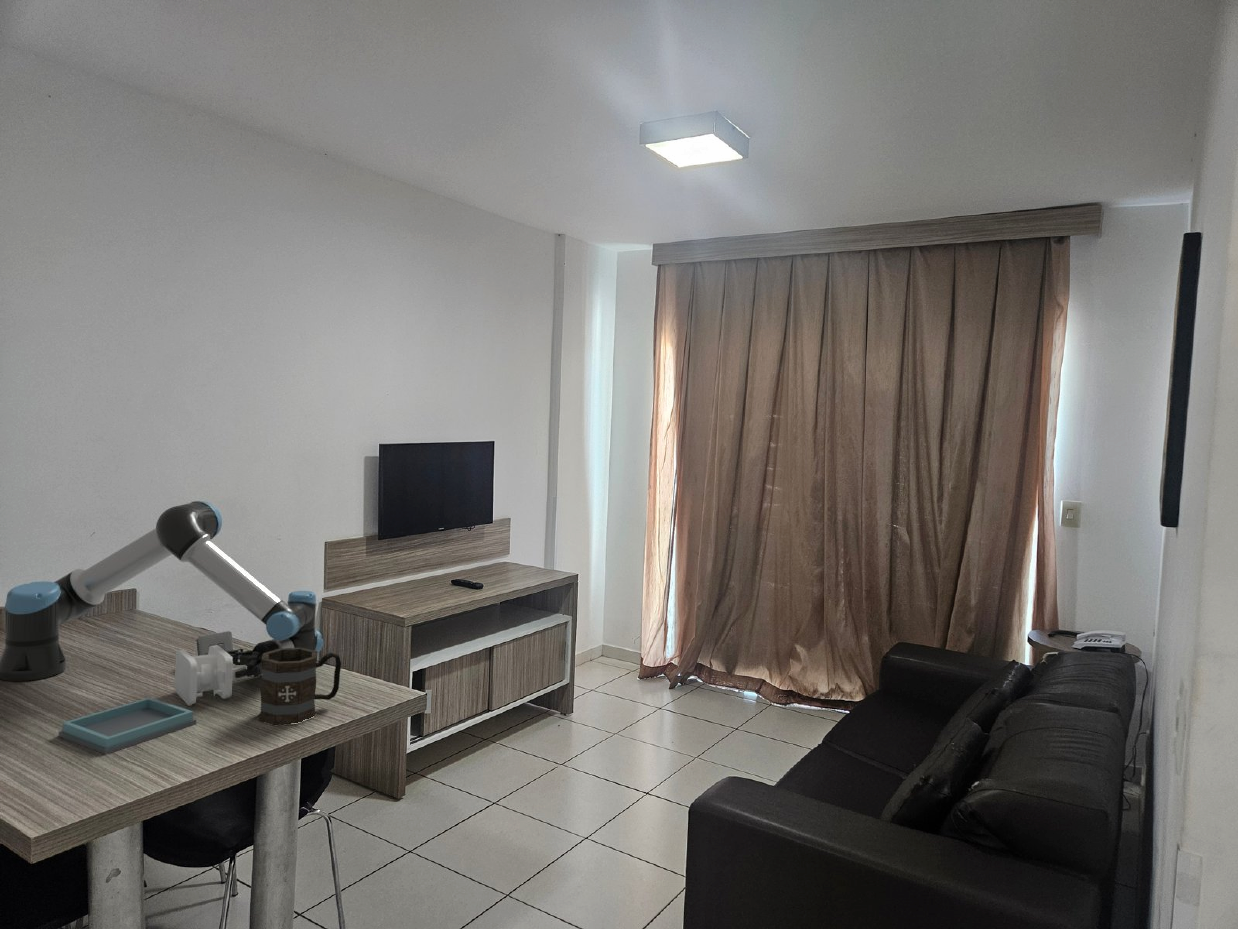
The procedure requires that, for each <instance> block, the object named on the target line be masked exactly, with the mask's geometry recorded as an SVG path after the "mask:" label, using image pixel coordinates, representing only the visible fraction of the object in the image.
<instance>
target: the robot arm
mask: <svg viewBox="0 0 1238 929" xmlns="http://www.w3.org/2000/svg"><path fill="white" fill-rule="evenodd" d="M222 519H223V518H222V515H221V512H220V511H219V509H218V508H217V507H216V506H215V505H213V504H212V503H209V502H208V501H202V500H201V501H200V500H196V501H191V502H189V503H185V504H181V505H175V506H171V507H170V508H168V509H166V510H165V511H163V512H162V513H161V514H160V515H159V517H158V519H157V521H156V523H155V524H156V525H155V528H154V529H152V530H150V531H148V532H147V533H146V534H144V535H142V536H141V537H139V538H137V539H136V540H133V541H132V542H130V543H128V544H127V545H126V546H123V547H122V548H120V549H119V550H117V551H115V552H114V553H111V554H110V555H109V556H107V557H105V558H103V559H102V560H99V561H98V562H97V563H95V564H94V565H91V566H90V567H88V568H86V569H83V568H78V569H77V568H76V569H74V570H72V571H71V572H69V573H68V574H66V575H64V576H62V577H61V578H59V579H57V580H55V581H54V582H53V581H47V580H46V581H45V580H44V581H32V582H29V583H23V584H19V585H17V586H14V587H12V588H11V589H10V590H9V591H7V593H6V600H5V603H4V604H5V605H4V608H5V632H4V633H5V634H4V635H5V636H4V638H5V641H4V642H5V646H4V649H3V650H2V654H1V657H0V680H1V681H7V682H24V681H26V682H27V681H36V680H42V679H48V678H50V676H51V677H54V676H53V675H55V674H57V675H60V674H62V673H63V672H62V671H64V672H65V671H66V670H65V669H67V660H66V657H65V655H64V652H63V649H62V646H61V644H60V625H62V624H65V623H67V622H70V621H72V620H75V619H77V618H81V617H83V616H86V615H87V614H89V612H91V611H92V610H93V609H94V608H95V607H96V606H97V607H98V605H100V604H101V603H102V602H104V599H105V595H106V594H108V593H109V592H111V591H113V590H114V589H116V588H118V587H120V586H121V585H123V584H124V583H126V582H128V581H130V580H131V579H133V578H135V577H136V576H138V575H140V574H142V573H143V572H145V571H146V570H148V569H149V568H152V567H153V566H155V565H157V564H158V563H160V562H162V561H163V560H165V559H167V558H169V557H170V556H171V555H173V556H174V557H175V558H176V559H178V561H180V562H182V563H187V562H188V563H189V564H190V565H192V566H193V567H194V568H195V569H196V570H198V571H199V572H200V573H201V574H203V575H204V576H205V577H207V578H208V580H210V581H211V582H212V583H214V584H215V585H217V586H218V587H219V588H220V589H221V590H222V591H224V592H225V593H226V594H228V595H229V596H230V597H231V598H232V599H233V600H235V601H236V603H237V602H238V604H240V605H241V606H242V607H243V608H244V609H246V610H247V611H248V612H250V613H251V614H252V615H253V616H255V618H257V620H259V621H261V623H263V624H264V625H265V629H266V630H265V631H266V632H267V634H268V636H270V638H271V639H270V640H264V641H261V642H258V643H256V644H255V646H254V647H253V649H252V650H251V649H249V650H245V651H244V649H243V648H238V649H233V650H232V651H226V652H227V653H228V654H229V655H230V656H231V657H233V658H232V660H233V665H235V666H239V667H235V668H233V674H232V682H233V681H235V680H238V679H242V678H243V679H244V678H246V677H247V678H248V677H249V678H250V677H253V678H258V677H260V676H262V660H261V659H262V656H263V653H266V652H269V651H273V650H276V649H280V648H306V649H310V650H315V651H318V653H319V652H320V651H321V650H322V649H323V645H324V639H323V638H322V634H321V632H320V631H319V630H318V629H316V628H315V627H316V610H317V608H316V607H317V595H316V593H315V592H313V591H310V590H295V591H291V592H290V593H289V594H288V599H287V601H286V602H287V603H286V602H285V601H284V600H282V598H280V597H279V596H278V595H277V594H276V593H274V592H273V591H272V590H270V589H269V588H268V587H267V586H266V585H264V584H263V582H261V581H259V579H257V578H256V577H255V576H253V575H252V574H251V573H250V572H249V571H247V569H245V568H244V567H243V566H241V565H240V564H239V563H238V562H237V561H235V560H234V559H233V558H232V557H230V555H228V554H227V553H226V552H224V551H223V550H222V549H221V548H219V546H217V545H216V544H215V543H214V542H212V541H211V540H213V539H214V538H215V537H216V536H217V535H218V534H219V533H220V531H221V529H222V526H223V525H222V524H223V520H222ZM207 654H208V653H205V654H204V655H207ZM61 672H62V673H61ZM55 676H56V675H55ZM221 683H225V672H222V678H221Z"/></svg>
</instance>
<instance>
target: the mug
mask: <svg viewBox="0 0 1238 929" xmlns="http://www.w3.org/2000/svg"><path fill="white" fill-rule="evenodd" d="M318 653H319V652H318V651H315V650H310V649H306V648H280V649H276V650H273V651H269V652H266V653H263V656H262V659H261V660H262V675H261V683H260V684H261V685H260V711H259V712H260V713H259V720H258V721H259V722H261V723H264V722H266V723H265V724H267V723H269V724H268V725H270V724H272V725H271V726H274V725H278V726H285V725H284V724H291V723H298V722H302V721H303V720H305V719H309V718H311V717H313V716H314V715H315V716H316V705H315V704H316V703H315V702H316V701H315V700H327V701H329V700H331V699H333V698H335V697H336V695H337V693H338V692H339V688H340V679H341V678H340V677H341V676H340V675H341V668H342V660H341V657H340V655H339V654H337V653H333V652H328V653H327V654H324V656H322V658H320V660H318ZM331 658H334V659H335V667H334V673H333V686H332V688H331V692H330V693H328V694H320V693H319V694H316V689H317V670H316V669H317V668H321V667H322V666H324V665H325V664H326V663H327V661H328V660H330V659H331ZM317 660H318V661H317ZM302 723H303V722H302Z"/></svg>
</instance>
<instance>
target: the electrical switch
mask: <svg viewBox="0 0 1238 929" xmlns="http://www.w3.org/2000/svg"><path fill="white" fill-rule="evenodd" d="M195 641H196V647H197V656H200V655H204V654H205V653H208V650H209V647H210V646H213V645H218V646H219V647H221V648H222V649H223V650H224V651H232V650H234V643H233V642H234V641H233V634H232V631H230V630H227V631H222V632H215V633H214V632H213V633H208V634H203V635H202V634H201V635H199V636H198V637H197V638H196V640H195Z"/></svg>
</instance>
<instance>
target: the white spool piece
mask: <svg viewBox="0 0 1238 929" xmlns="http://www.w3.org/2000/svg"><path fill="white" fill-rule="evenodd" d="M232 658H233V657H231V656H230V655H229V654H228V653H227V652H226V651H224V650H223V649H222V648H221V647H219V646H218V645H213V646H210V647H209V650H208V654H207V655H200V656H198V655H194V656H192V655H190V654H189V653H188V652H187V651H186V650H185V649H178V650H176V652H175V668H174V689H175V692H176V694H177V695H178V696H179V697H180V698H181V699H182V700H183V701H184V702H185V704H186V705H187V706H188V707H190V706H193V705H194V704H196V702H197V698H198V697H203V692H207V691H213V696H214V698H215V695H218V696H219V697H220V698H221V699H223V700H227V699H228V698H231V697H232V693H233V681H232V674H233V669H234V668H233V667H234V664H233V660H232ZM222 672H225V683H221V678H222Z"/></svg>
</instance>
